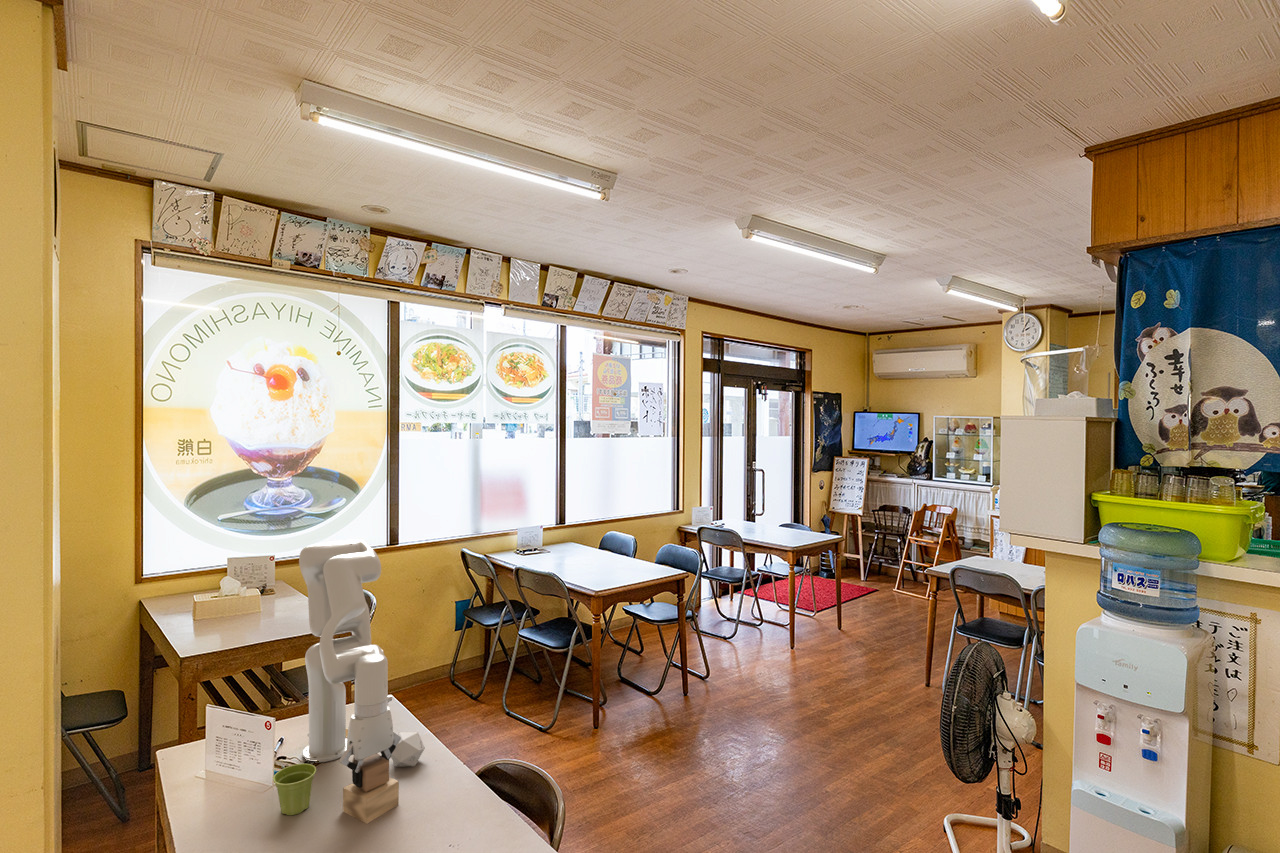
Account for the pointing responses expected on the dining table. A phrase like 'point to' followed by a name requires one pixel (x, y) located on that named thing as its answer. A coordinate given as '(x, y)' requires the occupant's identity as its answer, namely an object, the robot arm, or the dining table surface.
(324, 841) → the dining table surface
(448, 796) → the dining table surface
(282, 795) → the plant pot
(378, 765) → the walnut block
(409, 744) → the die
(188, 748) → the dining table surface
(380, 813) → the oak base
